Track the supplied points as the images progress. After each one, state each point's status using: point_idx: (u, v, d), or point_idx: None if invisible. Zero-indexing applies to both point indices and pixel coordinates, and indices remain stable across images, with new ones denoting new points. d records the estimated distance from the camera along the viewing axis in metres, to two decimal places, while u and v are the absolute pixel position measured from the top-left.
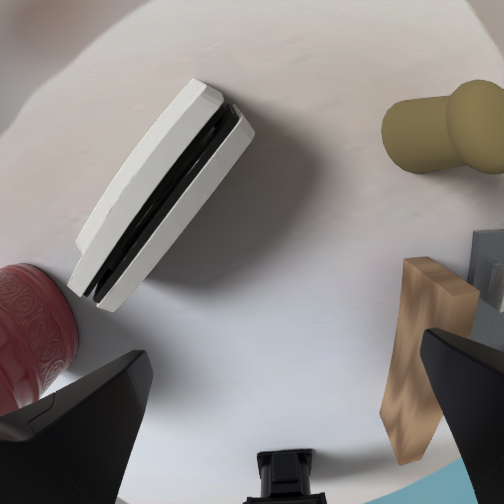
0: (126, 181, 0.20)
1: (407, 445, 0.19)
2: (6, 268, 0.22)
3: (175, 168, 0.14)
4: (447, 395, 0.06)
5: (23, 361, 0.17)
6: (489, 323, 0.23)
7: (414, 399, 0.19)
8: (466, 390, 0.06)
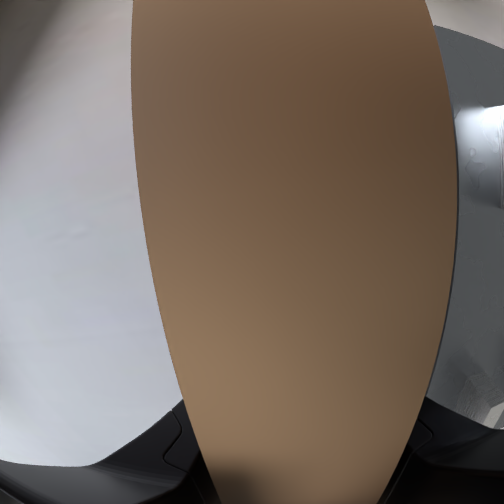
0: None
1: None
2: None
3: None
4: None
5: None
6: None
7: None
8: None
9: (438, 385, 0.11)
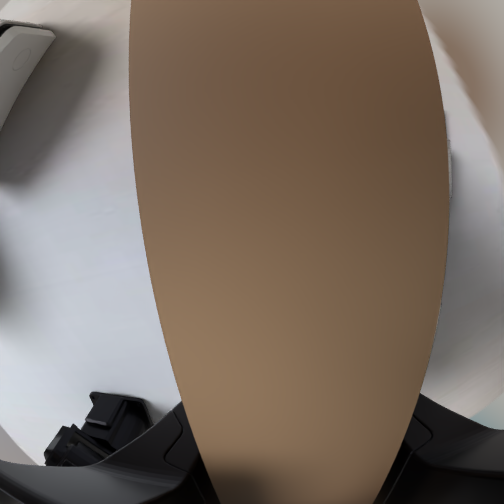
0: None
1: None
2: None
3: None
4: None
5: None
6: None
7: None
8: None
9: None
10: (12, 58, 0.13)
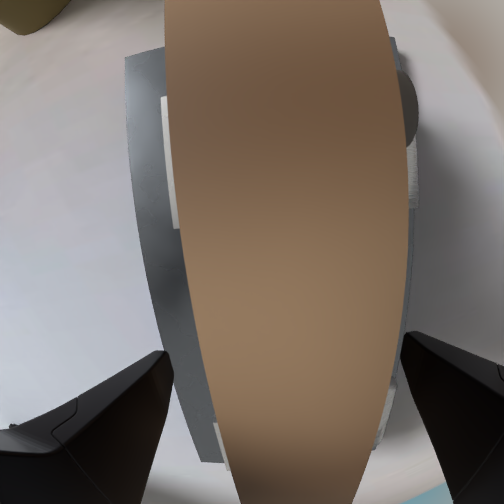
0: None
1: None
2: None
3: None
4: (426, 401, 0.06)
5: None
6: None
7: None
8: (444, 397, 0.06)
9: (184, 384, 0.13)
10: None
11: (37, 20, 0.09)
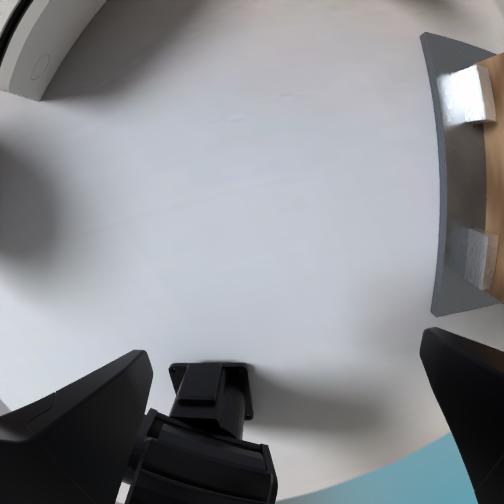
0: None
1: None
2: None
3: None
4: (447, 395, 0.06)
5: None
6: (482, 159, 0.16)
7: None
8: (466, 390, 0.06)
9: (451, 229, 0.18)
10: None
11: None
